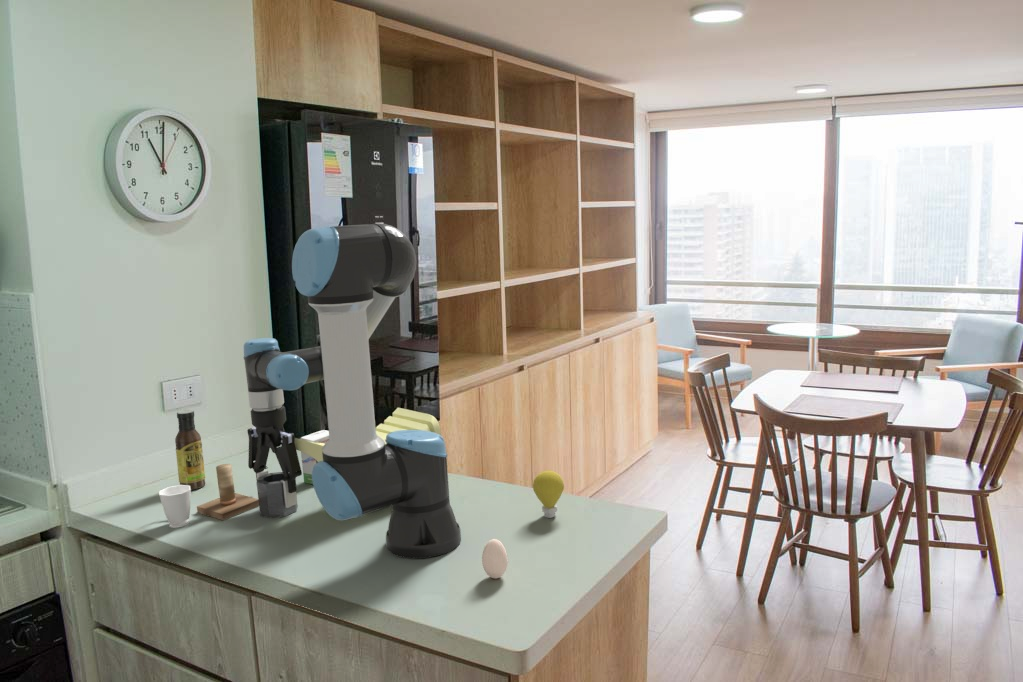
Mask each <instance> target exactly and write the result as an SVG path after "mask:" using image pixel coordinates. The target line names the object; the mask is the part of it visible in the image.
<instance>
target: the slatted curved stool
mask: <svg viewBox="0 0 1023 682" xmlns="http://www.w3.org/2000/svg"><path fill="white" fill-rule="evenodd" d="M375 428H376V434H377V435H378V436H379V437H380V438H382V439H383V440H384V442H385V439H386V436H387V434H389V433H391V432H394V431H400V430H423V431H430V432H434V433H437V434H439V435H440V436H442V429H441V425H440V423H439V421H438V419H437V418H436V417H435V416H434V415H431V414H429V413H425V412H421V411H415V410H411V409H406V408H401V407H396V409H395V410H394V411H393V412H392V416H391V415H389V416H388V417H386V419H384V421H383V423H379V424H378V425H376V426H375ZM385 444H387V443H386V442H385ZM324 445H325V444H324V443H314V442H310V441H305V440H302V439H301V438H298V437H295V447H296V451H299V452H300V453H301V452H304V453H306V454H308V455H310V456H311V457H313V458H314V459H316V460H317V461H318V462H319V461H323V455H322V447H323V446H324Z"/></svg>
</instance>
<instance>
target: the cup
mask: <svg viewBox="0 0 1023 682" xmlns="http://www.w3.org/2000/svg"><path fill="white" fill-rule="evenodd" d="M191 492H192V490H191V488H190V486H189V485H180V484H178V485H172V486H171V485H170V486H168V487H165V488H163V489H161V490H159V491H158V493H159V499H160V503H161V506H162V508H163V512H164V515H165V518H166V519H167V521H168V523H169V528H174V529H178V528H182V527H185V526H187V525H189V524H190V520H189V519H190V515H191V497H192V496H191Z"/></svg>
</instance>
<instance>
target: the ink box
mask: <svg viewBox="0 0 1023 682" xmlns="http://www.w3.org/2000/svg"><path fill="white" fill-rule="evenodd" d="M300 439H302V440H305V441H310V442H314V443H324V444H326V442H327V441H328V440H329V430H325V429H322V430H319V431H316V432H313V433H312V432H311V433H310V434H308V435H307V434H306V435H304V436H301V437H300ZM300 455H301V456H300V457H301V465H302V475H303V483H305V484H308V485H309V484H310V485H313V481H312V470H313V467H314V465H315V464H316V463H318V461H317V460H316V459H314V458H313V457H311V456H310V455H308V454H306V453H304V452H301V451H300Z"/></svg>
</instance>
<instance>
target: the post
mask: <svg viewBox="0 0 1023 682" xmlns="http://www.w3.org/2000/svg"><path fill="white" fill-rule="evenodd" d="M215 470H216V477H217V485H218V493H219V495H218V496H219V497H218V498H215V499H213V500H210V501H207V502H205V503H203V504H202V503H201V504H199V505H197V506H196V511H197V513H198V514H201V515H204V516H207V517H211V518H214V519H218V520H221V521H226V520H228V519H230V518H232V517H235V516H238V515H240V514H243V513H245V512H247V511H250V510H253V509H255V508H257V507H259V500H258V498H255V497H252V496H248V495H245V494H241V493H236V491H235V483H234V477H233V476H234V475H233V474H234V473H233V466H232V464H231V463H222V464H219V465H217V466H216V467H215Z"/></svg>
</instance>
